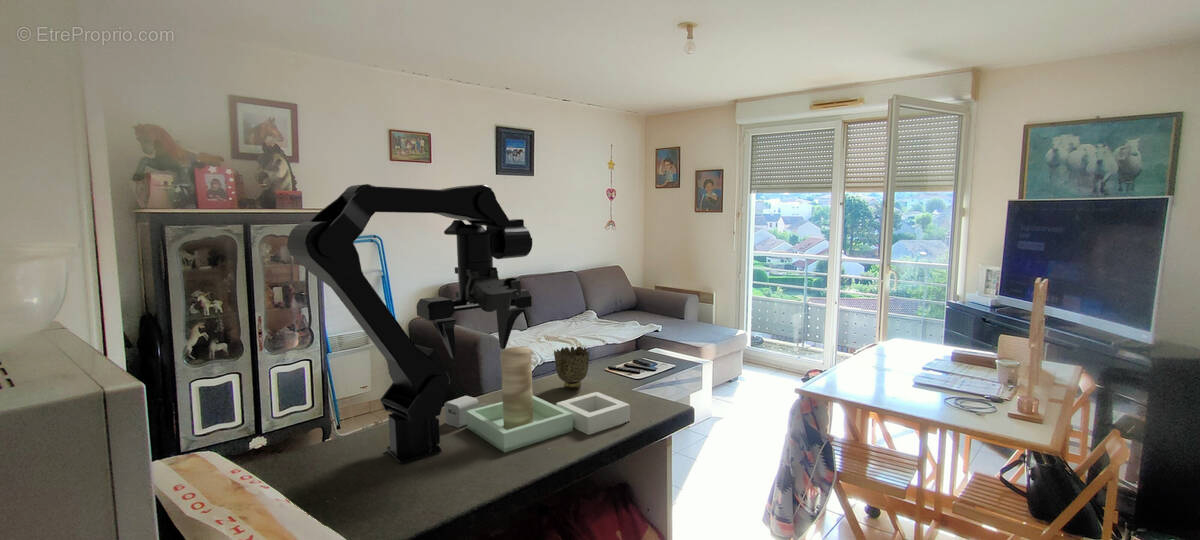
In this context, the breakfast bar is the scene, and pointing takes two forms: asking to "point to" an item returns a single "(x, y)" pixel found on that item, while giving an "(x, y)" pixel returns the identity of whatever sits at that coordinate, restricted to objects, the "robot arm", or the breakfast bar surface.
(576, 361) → the cup
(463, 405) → the usb wall charger
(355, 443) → the breakfast bar surface
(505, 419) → the beech dowel
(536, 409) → the pale green tray
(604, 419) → the white square frame
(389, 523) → the breakfast bar surface
